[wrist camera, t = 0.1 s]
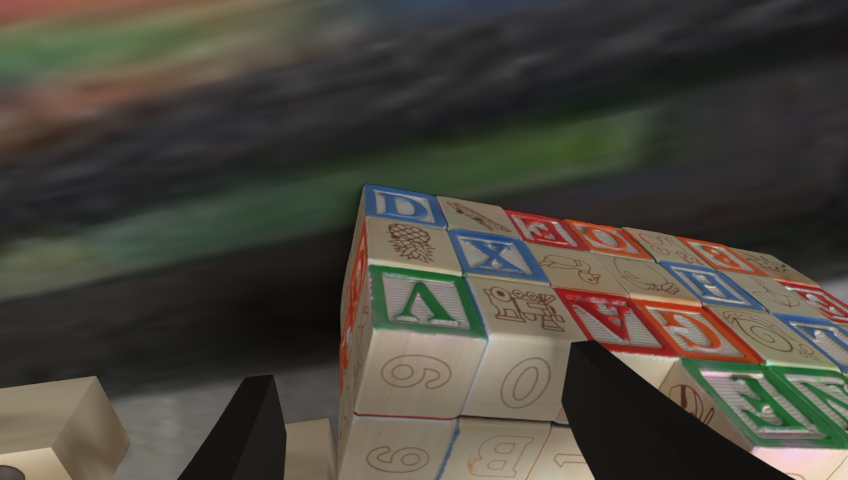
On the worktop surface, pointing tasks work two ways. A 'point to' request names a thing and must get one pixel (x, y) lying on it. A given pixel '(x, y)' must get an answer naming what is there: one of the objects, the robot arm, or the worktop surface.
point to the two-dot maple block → (59, 432)
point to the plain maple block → (310, 451)
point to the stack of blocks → (569, 341)
